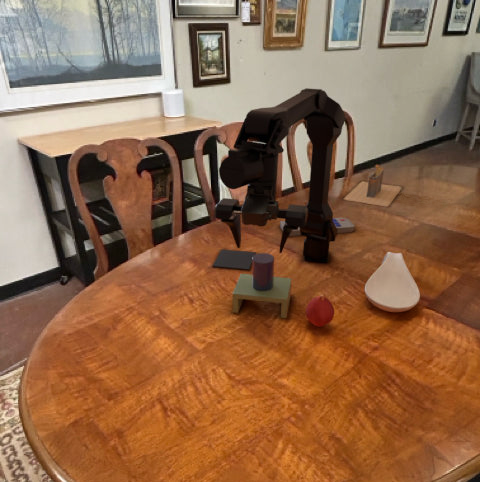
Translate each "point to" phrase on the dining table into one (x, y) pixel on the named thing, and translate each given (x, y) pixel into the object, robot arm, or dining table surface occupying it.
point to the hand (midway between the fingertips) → (259, 249)
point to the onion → (320, 311)
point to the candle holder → (263, 272)
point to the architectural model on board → (374, 190)
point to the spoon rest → (392, 285)
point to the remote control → (340, 223)
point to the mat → (234, 259)
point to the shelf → (262, 293)
